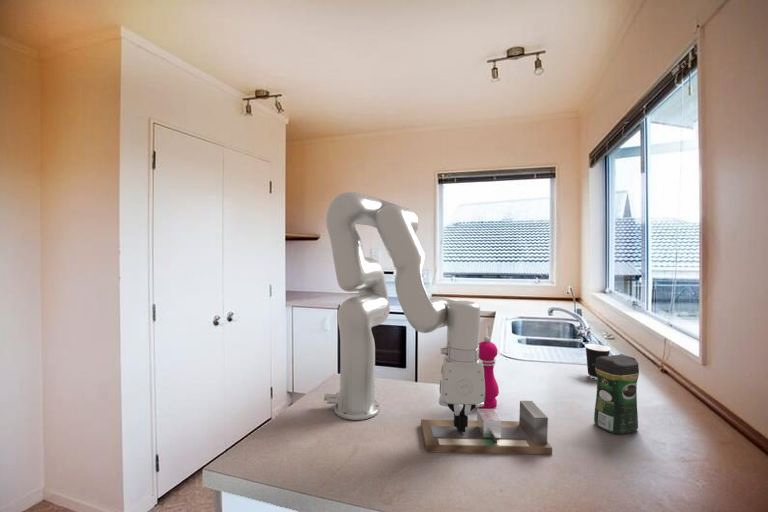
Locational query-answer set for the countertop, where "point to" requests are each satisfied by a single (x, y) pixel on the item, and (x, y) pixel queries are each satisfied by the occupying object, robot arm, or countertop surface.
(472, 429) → the base
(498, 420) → the gauge slider
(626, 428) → the coffee jar
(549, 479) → the countertop surface
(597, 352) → the dixie cup
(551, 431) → the countertop surface
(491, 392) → the pepper mill
